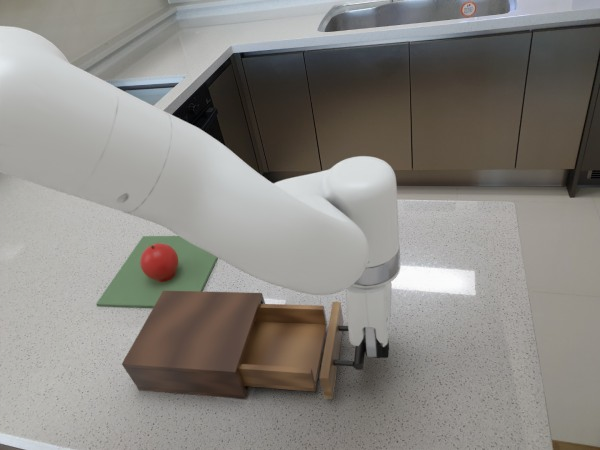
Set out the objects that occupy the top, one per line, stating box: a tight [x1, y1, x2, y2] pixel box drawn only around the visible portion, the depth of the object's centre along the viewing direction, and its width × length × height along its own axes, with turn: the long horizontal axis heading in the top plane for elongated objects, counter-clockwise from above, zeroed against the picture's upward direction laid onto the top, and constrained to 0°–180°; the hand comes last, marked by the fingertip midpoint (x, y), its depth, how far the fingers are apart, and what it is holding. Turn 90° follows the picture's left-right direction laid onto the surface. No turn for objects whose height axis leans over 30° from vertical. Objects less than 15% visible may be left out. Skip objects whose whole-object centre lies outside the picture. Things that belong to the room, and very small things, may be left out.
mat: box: [95, 235, 219, 309], centre depth 92 cm, size 20×20×1 cm
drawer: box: [238, 301, 366, 400], centre depth 68 cm, size 21×13×5 cm, turn 79°
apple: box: [140, 243, 178, 282], centre depth 88 cm, size 7×7×8 cm
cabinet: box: [121, 290, 266, 400], centre depth 72 cm, size 18×15×7 cm
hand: (377, 352), depth 65 cm, fingers closed
